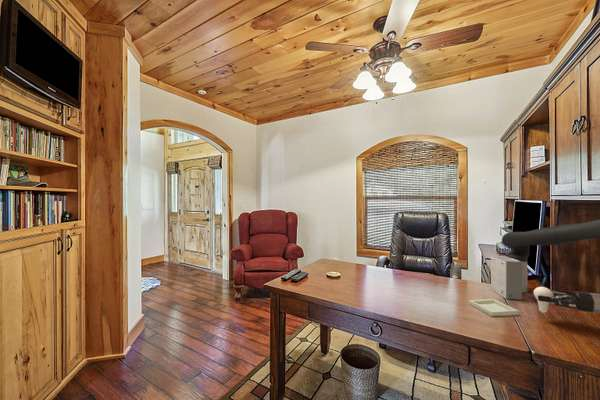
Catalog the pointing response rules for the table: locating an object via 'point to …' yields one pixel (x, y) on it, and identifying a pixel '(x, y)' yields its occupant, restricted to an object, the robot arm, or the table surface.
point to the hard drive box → (506, 277)
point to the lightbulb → (542, 292)
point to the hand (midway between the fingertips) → (535, 295)
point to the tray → (493, 307)
